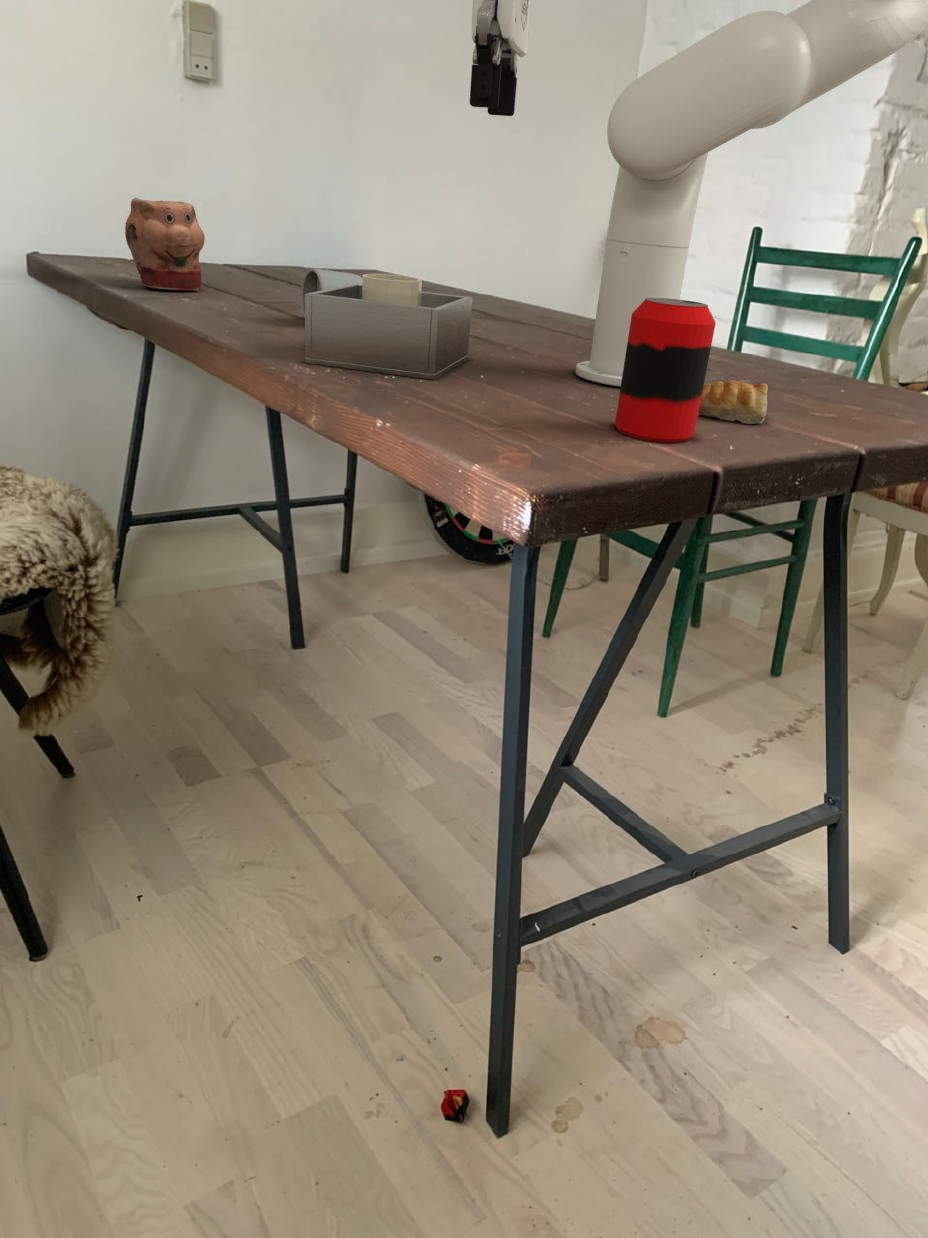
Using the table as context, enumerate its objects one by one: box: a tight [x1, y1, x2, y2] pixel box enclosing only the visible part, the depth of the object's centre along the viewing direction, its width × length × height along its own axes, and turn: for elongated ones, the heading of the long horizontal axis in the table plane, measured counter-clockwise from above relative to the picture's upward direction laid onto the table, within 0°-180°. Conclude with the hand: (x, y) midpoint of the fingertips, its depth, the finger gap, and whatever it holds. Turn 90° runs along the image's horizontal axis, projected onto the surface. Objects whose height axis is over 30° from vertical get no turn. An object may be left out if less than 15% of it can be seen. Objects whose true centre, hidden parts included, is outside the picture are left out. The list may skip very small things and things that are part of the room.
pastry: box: [698, 379, 769, 425], centre depth 97 cm, size 9×7×4 cm
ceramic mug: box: [300, 268, 362, 318], centre depth 132 cm, size 11×8×8 cm
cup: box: [361, 273, 423, 306], centre depth 108 cm, size 7×7×9 cm
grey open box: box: [304, 284, 473, 381], centre depth 108 cm, size 16×16×8 cm
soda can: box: [614, 298, 717, 444], centre depth 85 cm, size 8×8×12 cm
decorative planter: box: [124, 197, 206, 291], centre depth 153 cm, size 20×12×14 cm, turn 40°
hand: (492, 111), depth 105 cm, fingers open, 9 cm apart
